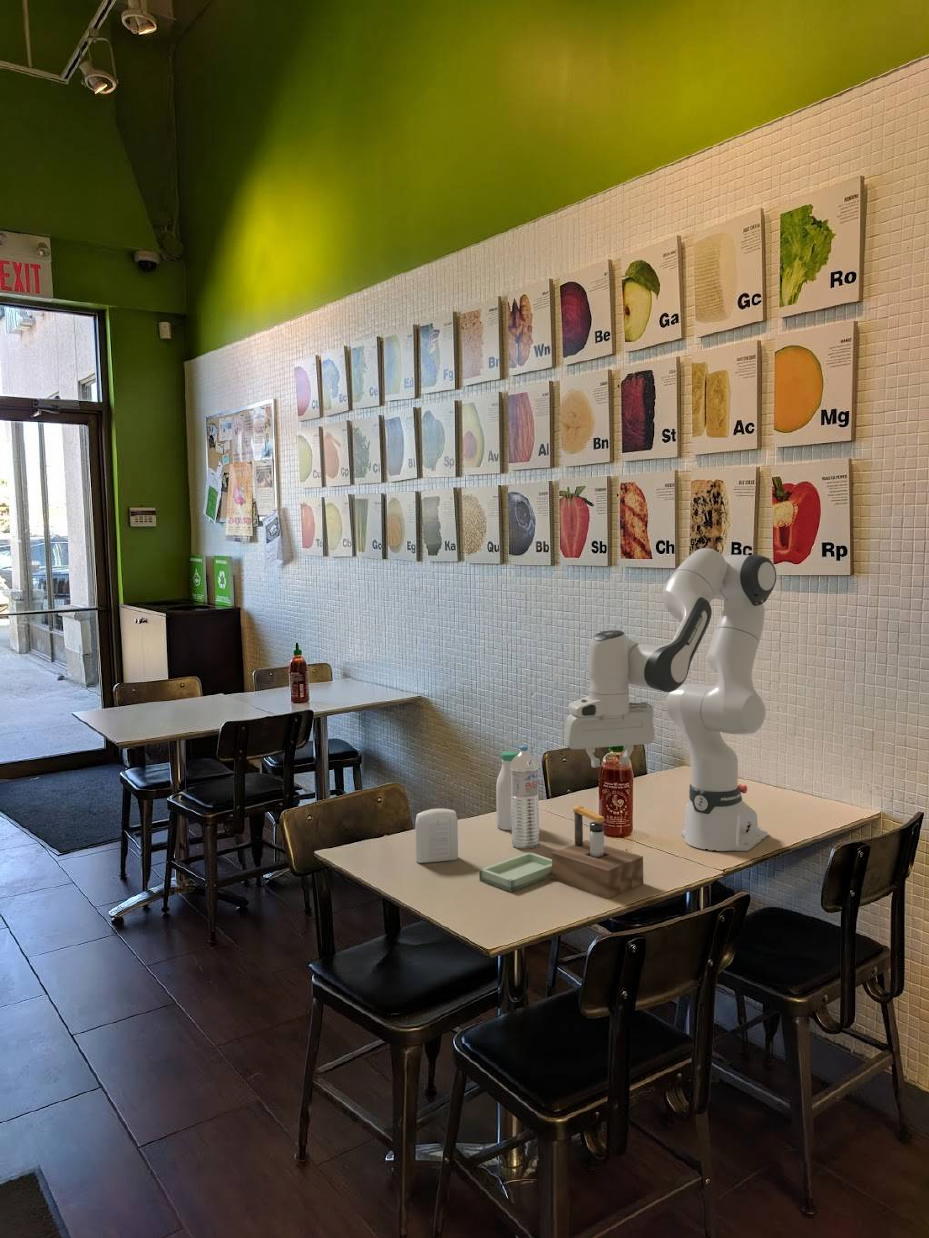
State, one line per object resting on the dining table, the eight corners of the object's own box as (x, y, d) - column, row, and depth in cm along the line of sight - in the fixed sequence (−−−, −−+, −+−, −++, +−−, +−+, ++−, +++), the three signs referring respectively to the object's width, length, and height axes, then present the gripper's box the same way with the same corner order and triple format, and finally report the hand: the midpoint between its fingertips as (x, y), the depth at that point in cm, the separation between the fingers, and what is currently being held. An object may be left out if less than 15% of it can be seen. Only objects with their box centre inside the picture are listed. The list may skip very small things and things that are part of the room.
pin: (596, 877, 204) (595, 820, 203) (607, 880, 202) (606, 823, 201) (587, 880, 202) (587, 823, 201) (598, 884, 200) (597, 826, 199)
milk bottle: (531, 828, 240) (529, 754, 238) (504, 833, 237) (502, 757, 235) (518, 820, 247) (517, 748, 245) (492, 824, 244) (490, 751, 242)
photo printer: (456, 854, 222) (454, 804, 220) (460, 860, 217) (458, 809, 216) (414, 859, 219) (412, 808, 218) (417, 865, 215) (416, 813, 214)
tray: (529, 862, 215) (529, 851, 215) (561, 872, 207) (560, 862, 207) (479, 880, 204) (479, 869, 204) (511, 892, 197) (510, 880, 197)
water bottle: (517, 851, 223) (514, 750, 221) (508, 842, 229) (506, 744, 227) (543, 848, 225) (541, 748, 222) (533, 839, 231) (532, 742, 229)
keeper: (571, 811, 208) (571, 806, 208) (579, 809, 209) (579, 805, 209) (596, 822, 199) (596, 818, 199) (605, 821, 200) (605, 816, 200)
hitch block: (587, 865, 212) (586, 807, 211) (643, 883, 200) (642, 822, 199) (552, 878, 204) (551, 819, 203) (608, 898, 192) (607, 835, 191)
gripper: (647, 699, 207) (648, 759, 208) (561, 704, 203) (562, 765, 204) (658, 703, 201) (659, 765, 202) (570, 709, 197) (571, 772, 198)
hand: (609, 765), depth 203 cm, fingers open, 5 cm apart
